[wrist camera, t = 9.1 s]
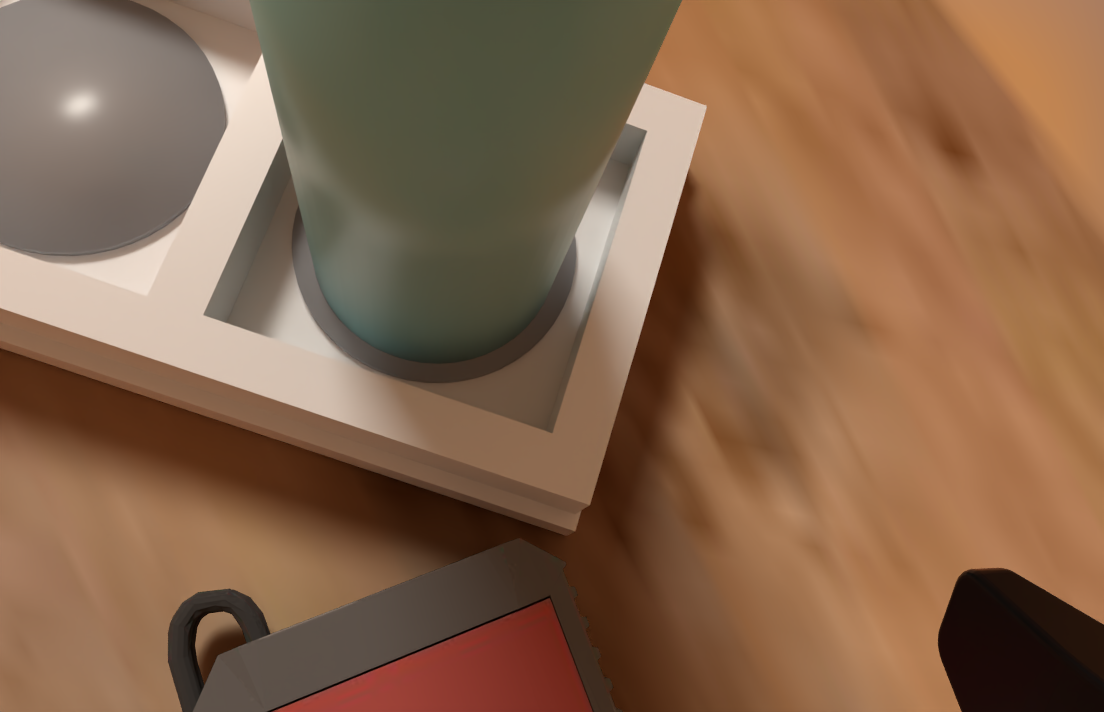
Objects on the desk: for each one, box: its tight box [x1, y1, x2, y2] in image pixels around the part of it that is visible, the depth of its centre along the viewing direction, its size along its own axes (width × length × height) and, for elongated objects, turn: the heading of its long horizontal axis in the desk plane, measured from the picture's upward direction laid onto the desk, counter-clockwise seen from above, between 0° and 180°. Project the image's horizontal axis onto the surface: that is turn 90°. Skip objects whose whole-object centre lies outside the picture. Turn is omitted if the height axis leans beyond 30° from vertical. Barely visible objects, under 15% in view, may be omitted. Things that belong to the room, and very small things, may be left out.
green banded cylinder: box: [249, 0, 682, 364], centre depth 13 cm, size 5×5×13 cm
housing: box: [0, 0, 707, 536], centre depth 19 cm, size 9×16×2 cm, turn 73°
